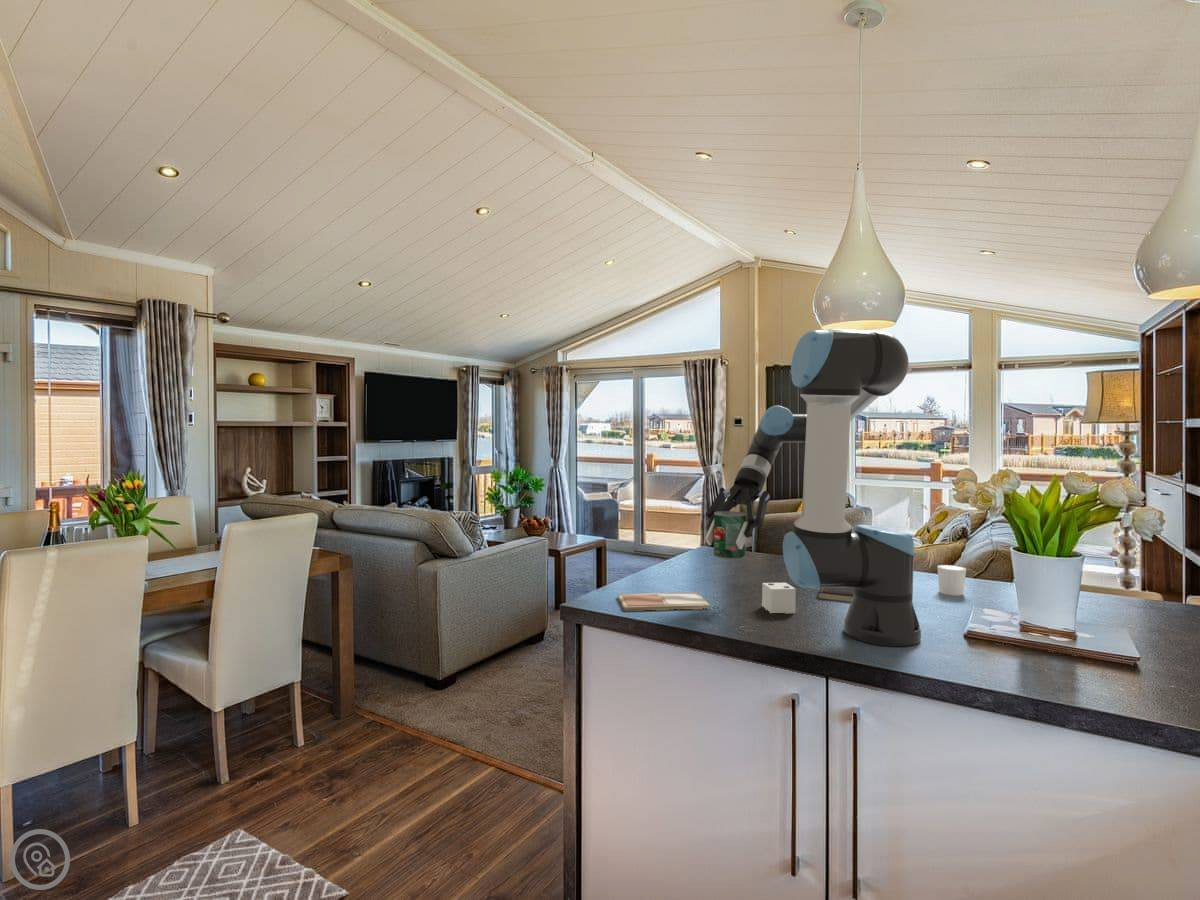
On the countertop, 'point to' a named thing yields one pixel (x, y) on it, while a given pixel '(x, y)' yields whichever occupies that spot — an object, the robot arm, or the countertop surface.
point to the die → (778, 597)
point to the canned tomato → (728, 534)
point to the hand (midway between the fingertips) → (723, 543)
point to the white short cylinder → (951, 579)
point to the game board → (662, 601)
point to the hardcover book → (836, 593)
